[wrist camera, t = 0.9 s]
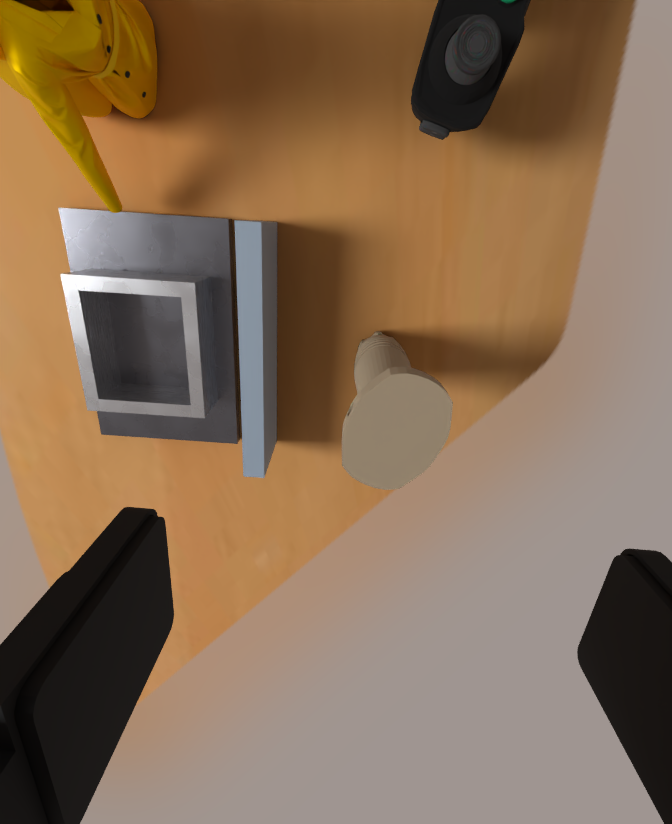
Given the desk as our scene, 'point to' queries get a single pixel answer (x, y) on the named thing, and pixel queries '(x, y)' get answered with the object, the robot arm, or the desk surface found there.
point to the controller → (465, 62)
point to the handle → (392, 417)
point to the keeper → (154, 322)
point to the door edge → (257, 340)
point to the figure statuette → (80, 69)
